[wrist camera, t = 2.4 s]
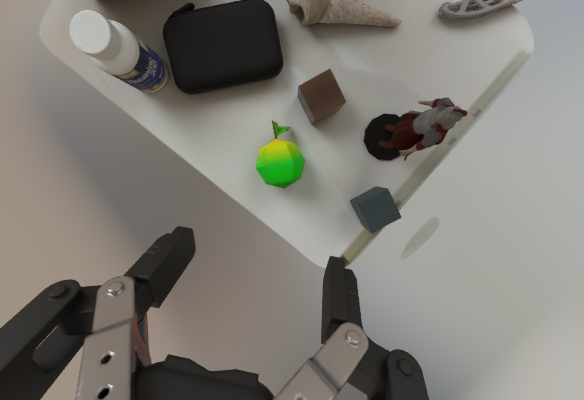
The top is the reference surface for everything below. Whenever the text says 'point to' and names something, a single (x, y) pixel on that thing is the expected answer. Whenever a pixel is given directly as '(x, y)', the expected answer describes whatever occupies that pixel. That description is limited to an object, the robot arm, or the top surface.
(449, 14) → the knife
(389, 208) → the slate block
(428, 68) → the top surface
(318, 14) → the seashell
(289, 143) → the apple
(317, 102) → the walnut block
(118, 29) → the pill bottle
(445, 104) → the figurine
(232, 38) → the carrying case
